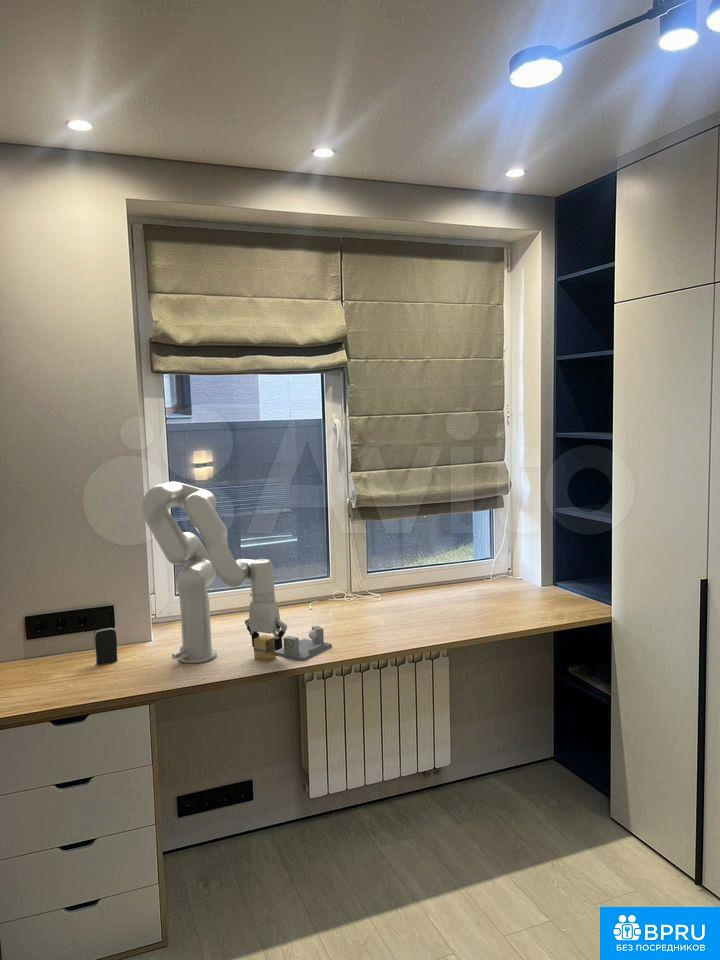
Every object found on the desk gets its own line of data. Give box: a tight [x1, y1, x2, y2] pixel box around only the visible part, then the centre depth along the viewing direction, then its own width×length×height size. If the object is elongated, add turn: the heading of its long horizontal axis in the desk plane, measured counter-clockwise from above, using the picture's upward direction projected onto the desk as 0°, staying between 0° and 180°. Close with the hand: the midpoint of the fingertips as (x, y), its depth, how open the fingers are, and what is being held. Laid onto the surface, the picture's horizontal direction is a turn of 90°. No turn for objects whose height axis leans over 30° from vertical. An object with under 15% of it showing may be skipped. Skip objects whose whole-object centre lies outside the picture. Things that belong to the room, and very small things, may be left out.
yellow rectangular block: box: [253, 634, 277, 663], centre depth 235 cm, size 5×5×7 cm
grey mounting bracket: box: [276, 625, 333, 661], centre depth 241 cm, size 16×12×6 cm
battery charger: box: [93, 627, 118, 666], centre depth 235 cm, size 7×4×11 cm, turn 123°
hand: (267, 647), depth 235 cm, fingers open, 9 cm apart
